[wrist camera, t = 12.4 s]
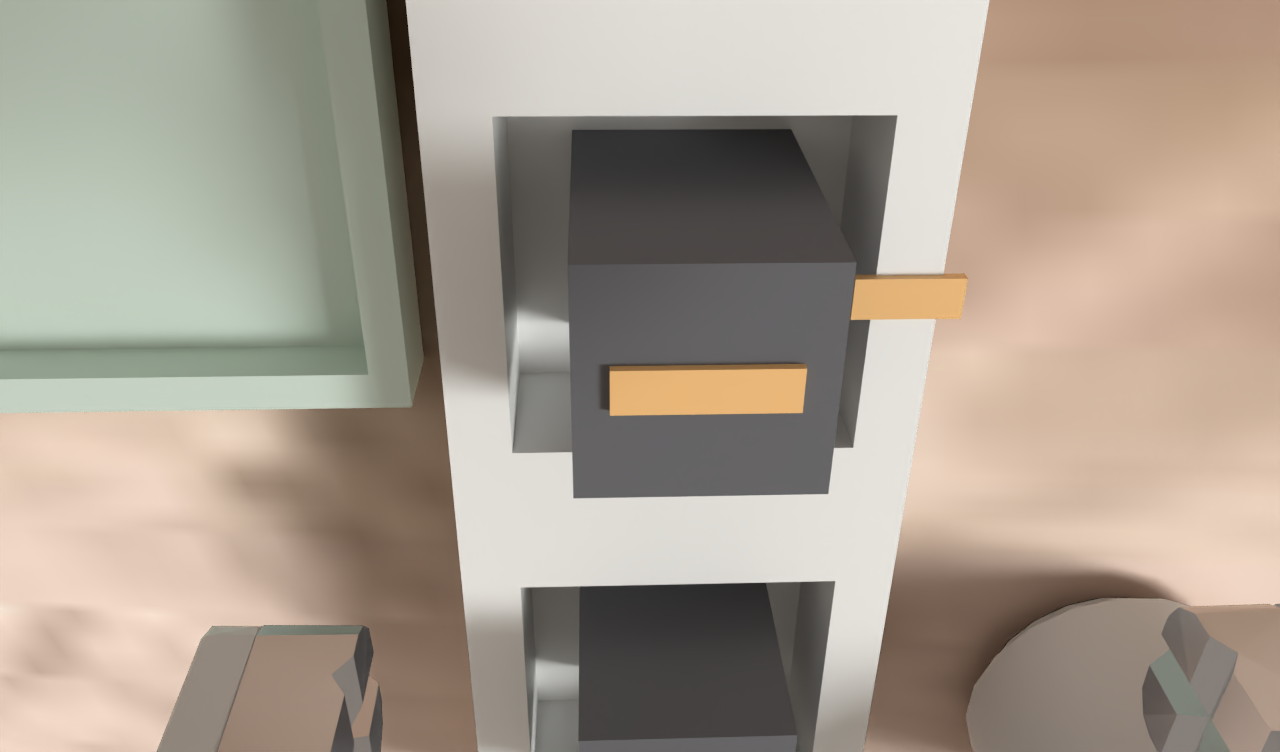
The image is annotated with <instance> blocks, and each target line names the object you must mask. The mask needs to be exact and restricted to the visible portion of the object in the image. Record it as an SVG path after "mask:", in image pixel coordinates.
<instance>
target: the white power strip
mask: <svg viewBox="0 0 1280 752" xmlns="http://www.w3.org/2000/svg"><path fill="white" fill-rule="evenodd" d="M988 5H989V0H406V10H407V20H408V31H409V41H410V51H411V62H412V72H413V82H414V93H415V103H416V114H417V124H418V134H419V145H420V155H421V166H422V176H423V186H424V197H425V207H426V217H427V228H428V238H429V249H430V259H431V269H432V280H433V290H434V300H435V311H436V321H437V332H438V342H439V352H440V363H441V373H442V384H443V394H444V404H445V415H446V425H447V435H448V446H449V456H450V467H451V477H452V487H453V498H454V508H455V519H456V529H457V539H458V550H459V560H460V570H461V581H462V591H463V602H464V612H465V622H466V633H467V643H468V654H469V664H470V674H471V685H472V695H473V705H474V716H475V726H476V737H477V747H478V752H579V744H578V730H579V599H580V586H621V585H670V584H718V583H766V586H767V590H768V595H769V600H770V605H771V610H772V615H773V619H774V624H775V629H776V634H777V639H778V644H779V648H780V653H781V658H782V663H783V668H784V673H785V677H786V682H787V687H788V692H789V697H790V702H791V707H792V711H793V716H794V721H795V726H796V731H797V743H796V751H795V752H863V750H864V744H865V738H866V732H867V726H868V720H869V714H870V708H871V702H872V696H873V690H874V684H875V678H876V672H877V666H878V660H879V654H880V649H881V643H882V637H883V631H884V625H885V619H886V613H887V607H888V601H889V595H890V589H891V583H892V577H893V571H894V565H895V559H896V553H897V547H898V541H899V535H900V529H901V523H902V518H903V512H904V506H905V500H906V494H907V488H908V482H909V476H910V470H911V464H912V458H913V452H914V446H915V440H916V434H917V428H918V422H919V416H920V410H921V404H922V398H923V392H924V386H925V381H926V375H927V369H928V363H929V357H930V351H931V345H932V339H933V333H934V327H935V321H936V319H961V314H962V309H963V303H964V298H965V292H966V287H967V281H968V278H967V276H966V275H965V274H943V273H944V267H945V261H946V255H947V249H948V244H949V238H950V232H951V226H952V220H953V214H954V208H955V202H956V196H957V190H958V184H959V178H960V172H961V166H962V160H963V154H964V148H965V142H966V136H967V130H968V124H969V118H970V113H971V107H972V101H973V95H974V89H975V83H976V77H977V71H978V65H979V59H980V53H981V47H982V41H983V35H984V29H985V23H986V17H987V11H988ZM679 129H791V130H792V132H793V134H794V136H795V138H796V140H797V142H798V144H799V146H800V148H801V150H802V152H803V154H804V156H805V158H806V160H807V162H808V164H809V166H810V169H811V171H812V173H813V175H814V177H815V179H816V181H817V183H818V185H819V187H820V189H821V191H822V193H823V195H824V197H825V199H826V201H827V203H828V205H829V207H830V209H831V211H832V213H833V215H834V217H835V219H836V221H837V223H838V225H839V227H840V229H841V231H842V233H843V236H844V238H845V240H846V242H847V244H848V246H849V248H850V250H851V252H852V254H853V256H854V258H855V260H856V262H857V265H856V273H855V281H854V289H853V297H852V305H851V313H850V322H849V330H848V338H847V346H846V354H845V362H844V370H843V379H842V387H841V395H840V403H839V411H838V419H837V427H836V436H835V444H834V452H833V460H832V468H831V476H830V484H829V492H828V494H805V495H746V496H687V497H628V498H573V463H572V424H571V385H570V346H569V307H568V268H567V262H568V233H569V204H570V174H571V145H572V130H679Z"/></svg>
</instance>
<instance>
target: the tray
mask: <svg viewBox="0 0 1280 752" xmlns="http://www.w3.org/2000/svg"><path fill="white" fill-rule="evenodd" d="M423 361H424V354H423V345H422V335H421V326H420V316H419V307H418V297H417V288H416V278H415V269H414V259H413V250H412V240H411V231H410V221H409V212H408V202H407V193H406V183H405V173H404V164H403V154H402V145H401V135H400V126H399V116H398V107H397V97H396V88H395V78H394V69H393V59H392V50H391V40H390V31H389V21H388V12H387V2H386V0H0V413H41V412H113V411H185V410H257V409H329V408H401V407H412V405H413V401H414V397H415V393H416V389H417V385H418V381H419V377H420V373H421V369H422V365H423Z"/></svg>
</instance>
